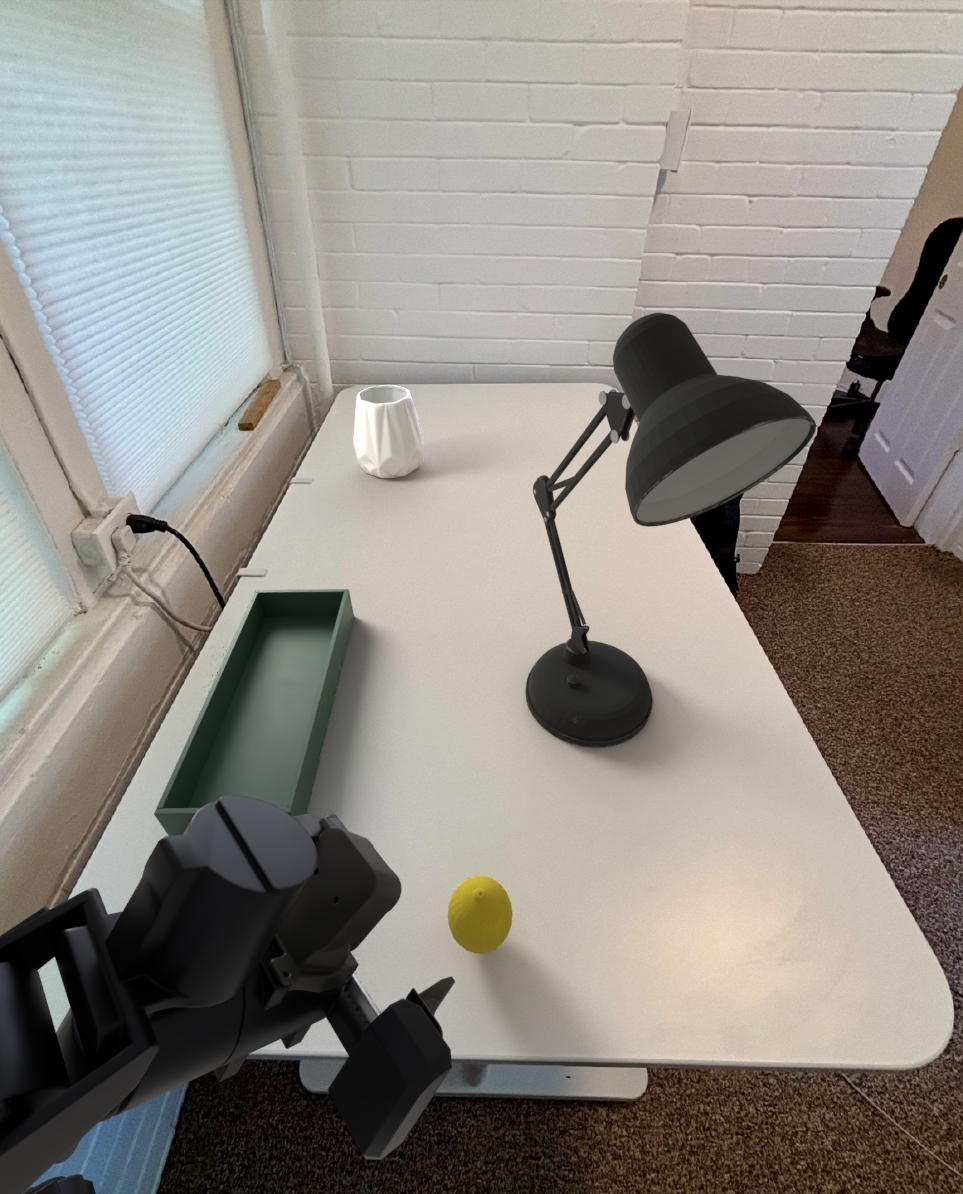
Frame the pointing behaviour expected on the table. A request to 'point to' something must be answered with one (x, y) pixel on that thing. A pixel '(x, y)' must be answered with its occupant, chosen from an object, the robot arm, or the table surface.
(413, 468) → the vase
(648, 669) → the table surface
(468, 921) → the lemon
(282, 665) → the green rectangular tray
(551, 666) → the desk lamp
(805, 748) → the table surface
